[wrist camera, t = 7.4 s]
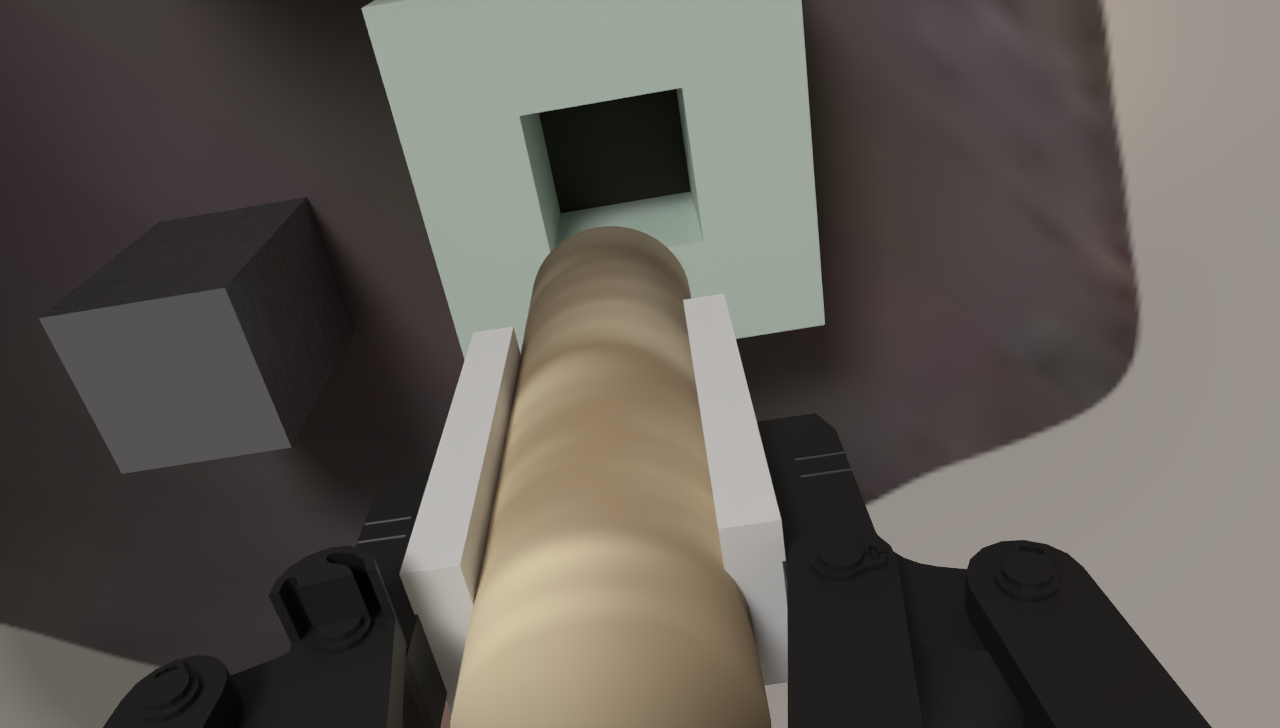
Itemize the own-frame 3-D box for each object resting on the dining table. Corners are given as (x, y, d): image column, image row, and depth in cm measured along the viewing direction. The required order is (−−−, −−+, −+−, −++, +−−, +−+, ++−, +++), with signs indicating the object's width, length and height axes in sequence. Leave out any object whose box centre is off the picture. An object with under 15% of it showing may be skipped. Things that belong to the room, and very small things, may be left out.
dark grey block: (217, 354, 36) (122, 473, 29) (159, 222, 33) (38, 318, 26) (354, 332, 35) (291, 447, 28) (306, 197, 33) (224, 287, 26)
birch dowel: (550, 381, 22) (492, 860, 11) (516, 240, 20) (409, 648, 9) (699, 358, 22) (784, 823, 11) (678, 213, 20) (754, 600, 9)
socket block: (488, 316, 35) (471, 381, 31) (397, -14, 29) (361, 8, 25) (797, 266, 35) (825, 324, 30) (767, -82, 29) (796, -72, 24)
